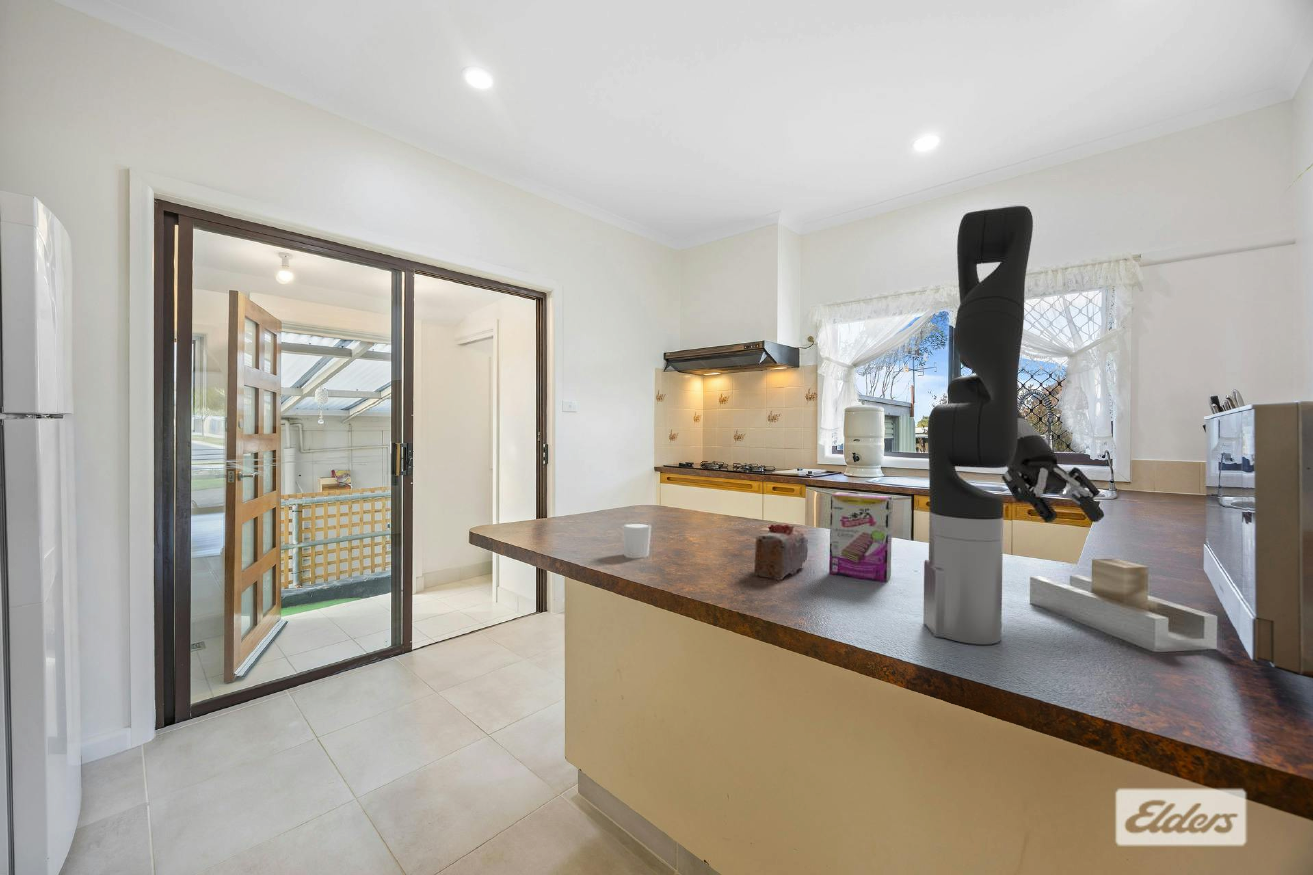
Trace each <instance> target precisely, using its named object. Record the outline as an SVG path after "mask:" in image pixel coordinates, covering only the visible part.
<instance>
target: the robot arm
mask: <svg viewBox="0 0 1313 875" xmlns="http://www.w3.org/2000/svg"><path fill="white" fill-rule="evenodd" d="M1033 228H1034V220H1033V215H1032V211H1031V209H1030V208H1029V207H1027V206H1025V205H1009V206H999V207H992V208H987V209H986V208H983V209H977V210H971V211H967V212H965V214H964V215H963V217H962V218H961V221H960V223H959V227H958V232H957V233H958V234H957V243H956V244H957V246H956V251H957V252H956V255H957V256H956V257H957V258H956V259H957V261H956V262H957V276H958V277H957V278H958V279H957V281H958V292H959V295H958V296H959V303H960V304H959V307H958V308H957V312H956V319H955V324H954V325H955V326H954V332H953V344H954V347H955V350H956V351H957V353H958V354H959V362H960V364H961V365H962V366H963V367H964V368H967V369H971V370H972V371H973V373H972V374H966V375H963V376H959V377H956V378H954V379H952V380H951V381H950V382H949V384H948V386H947V390H946V391H947V392H946V394H947V397H948V400H949V402H950V403H943V404H940V403H939V404H937V405H935V406H934V407H933V408H932V409H931V412H930V414H929V416H928V421H927V422H928V424H927V449H928V471H929V472H928V474H929V478H928V479H929V480H928V481H929V485H928V486H929V487H928V488H929V489H928V490H929V491H928V494H929V495H928V496H929V507H928V510H929V511H928V512H929V513H928V514H929V515H928V516H929V519H928V520H929V521H928V526H929V527H928V559H925V560H924V564H923V570H924V571H923V621H922V622H923V623H924V624H925V625H926V628H927V629H928V630H929V631H930V632H931V633H932V635H933V636H934V637H936V638H944V639H947V640H951V641H956V642H960V643H966V644H971V645H992V644H997V643H999V642H1000V641H1001V640H1002V630H1003V629H1002V628H1003V622H1002V620H1003V619H1002V614H1003V613H1002V611H1003V608H1002V606H1003V603H1002V602H1003V560H1004V559H1003V556H1004V551H1003V550H1004V549H1003V548H1004V508H1005V507H1004V501H1003V499H1002V498H1001V497H1000V496H999V495H997V494H995V493H993V492H991V491H987V490H985V489H981V488H979V487H976V486H975V485H972V484H971V483H969V482H967V481H966V480H964V479H963V478H962V477H960V475H958V473H957V470H956V468H959V467H960V468H961V467H962V468H980V469H981V468H982V469H987V468H988V469H999V468H1000V469H1002V468H1006V467H1007V470H1006V471H1005V472H1004V474H1003V475H1002V476H1001V480H1003V482H1004V484H1005V485H1006V487H1007V489H1008V490H1009V492H1010V493H1011V495H1012V496H1013V498H1014V500H1015V501H1016V502H1017V503H1023V502H1026V504H1028V505H1030V506H1032V508H1033V509H1034V510H1035V512H1036V513H1037V515H1038V516H1039V518H1041V519H1042V520H1043V521H1044V522H1045V523H1053V522H1054V521H1055V520H1056V519H1057V517H1058V513H1057V512H1056V511H1055V509H1054V508H1053V506H1052V505H1051V503H1049V501H1048V500H1047V499H1046V497H1044V496H1043V495H1048V494H1052V495H1058V496H1060V497H1062V498H1063V499H1070V500H1071V501H1073V502H1074V503H1076V504H1078V507H1079V508H1080V510H1082V512H1083V513H1084V514H1085V515H1086V517H1087V518H1088V519H1089V521H1090V522H1092V523H1099V521H1100V520H1102V519H1104V517H1105V513H1104V511H1103V510H1102V509H1101V507H1100V506H1099V505H1098V503H1097V502H1096V501H1095V500H1094V499H1095V498H1096V497H1097V496H1098V495H1099V494H1100V493H1101V491H1100V490H1099V489H1098V488H1097V487H1096V485H1094V483H1092V481H1091V480H1090V479H1089V478H1088V477H1087V475H1085V473H1084V472H1083V471H1082V470H1081V469H1080V468H1078V467H1075V466H1074V467H1073V468H1071V470H1065V469H1063V468H1062V467H1060V466H1059V465H1058V456H1057V454H1056V452H1055V451H1054V450H1053V449H1052V447H1051V446H1050V445H1049V444H1048V442H1047V441H1046V440H1045V439H1044V438H1043V436H1041V433H1039V432H1038V430H1037V429H1036V428H1035V427H1034V426H1033V425H1032V424H1030V422H1028V421H1027V419H1026V418H1025V417H1024V416H1023V415H1022V413H1021V412H1020V411H1019V409H1018V408H1019V407H1018V405H1019V404H1018V403H1019V397H1018V396H1019V395H1018V394H1019V392H1018V391H1019V389H1018V387H1019V385H1018V382H1019V381H1018V380H1019V379H1018V378H1019V377H1018V376H1019V365H1020V358H1021V357H1020V356H1021V348H1022V340H1023V334H1024V323H1025V322H1024V321H1025V290H1026V289H1025V288H1026V287H1025V284H1026V275H1027V269H1028V268H1027V267H1028V262H1029V257H1030V249H1031V246H1032V245H1031V244H1032V238H1033V231H1034V229H1033ZM994 263H999V264H998V266H996V268H995V269H994V270H993V271H991V273H989V274H988V275H987V276H986V277H985V278H983V280H981V281H980V279H979V275H978V265H981V264H994ZM1067 485H1069V486H1070V487H1068V489H1067V490H1064V489H1065V488H1066V487H1067ZM1086 488H1087V489H1086ZM1019 490H1020V491H1019ZM1075 492H1077V494H1078V495H1079V496H1078V495H1076V494H1075Z"/></svg>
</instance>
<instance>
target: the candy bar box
mask: <svg viewBox="0 0 1313 875" xmlns="http://www.w3.org/2000/svg"><path fill="white" fill-rule="evenodd" d="M893 499H894V498H893V496H890V495H889V496H888V495H876V494H865V493H853V492H852V493H851V492H842V491H841V492H840V491H836V492H834V493H831V495H830V517H829V518H830V522H829V523H830V524H829V526H830V528H829V530H830V531H829V560H828V561H829V562H828V563H829V564H828V567H829V568H828V569H829V571H828V572H829V574H831V575H832V574H833V575H839V576H843V577H844V576H845V577H849V578H857V579H863V580H869V581H876V582H881V583H882V582H883V583H887V582H888V581H889V579H891V576H892V542H893V540H892V537H893V506H894V505H893V504H894V503H893V502H894V501H893Z"/></svg>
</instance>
